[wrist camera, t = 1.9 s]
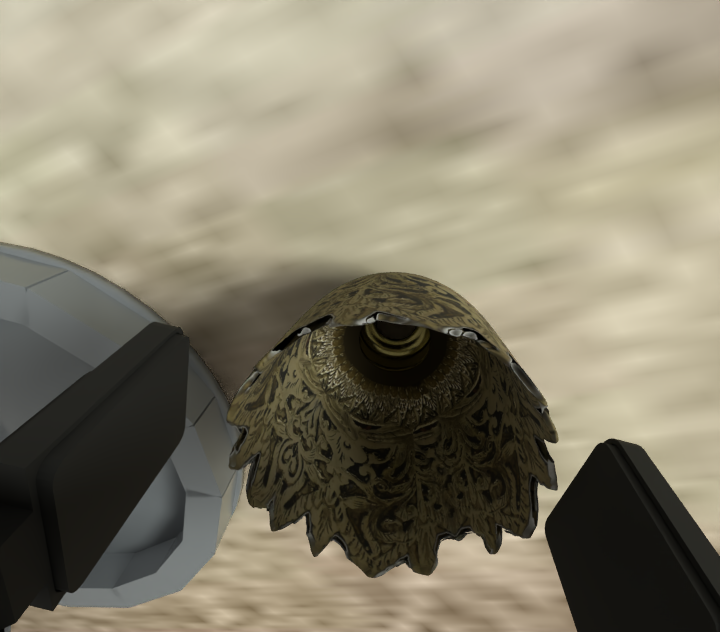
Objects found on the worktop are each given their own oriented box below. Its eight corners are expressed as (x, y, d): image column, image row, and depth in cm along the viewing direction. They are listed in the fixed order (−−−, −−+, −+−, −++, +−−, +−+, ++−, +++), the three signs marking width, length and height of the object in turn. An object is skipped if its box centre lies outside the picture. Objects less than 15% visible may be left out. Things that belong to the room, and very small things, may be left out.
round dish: (225, 597, 25) (206, 645, 23) (-90, 514, 25) (-142, 554, 23) (270, 311, 17) (248, 341, 14) (-205, 185, 17) (-306, 194, 14)
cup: (358, 420, 19) (326, 605, 11) (269, 282, 16) (157, 406, 9) (521, 359, 16) (608, 540, 9) (444, 190, 14) (482, 256, 7)
